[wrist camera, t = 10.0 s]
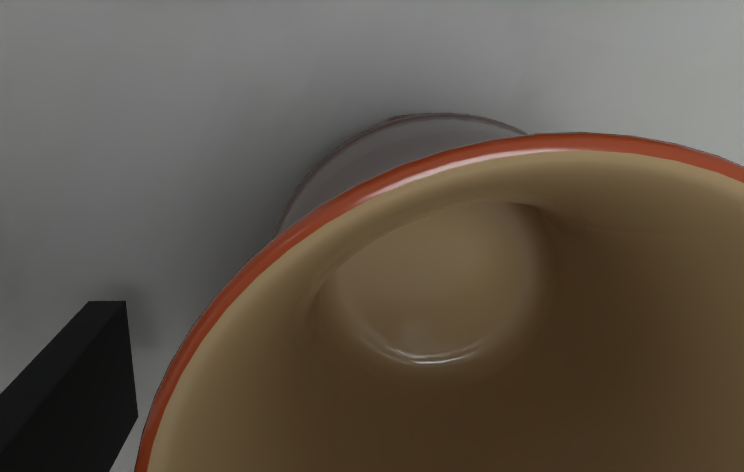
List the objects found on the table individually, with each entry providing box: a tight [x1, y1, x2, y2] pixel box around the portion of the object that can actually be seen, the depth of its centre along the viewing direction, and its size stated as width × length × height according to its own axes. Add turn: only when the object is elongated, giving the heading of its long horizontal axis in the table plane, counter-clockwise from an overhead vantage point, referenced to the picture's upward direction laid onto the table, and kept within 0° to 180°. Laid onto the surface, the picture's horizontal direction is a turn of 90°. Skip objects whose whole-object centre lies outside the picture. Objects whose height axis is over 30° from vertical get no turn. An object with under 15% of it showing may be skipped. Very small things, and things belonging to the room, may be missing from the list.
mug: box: [134, 113, 744, 472], centre depth 13 cm, size 12×9×10 cm
